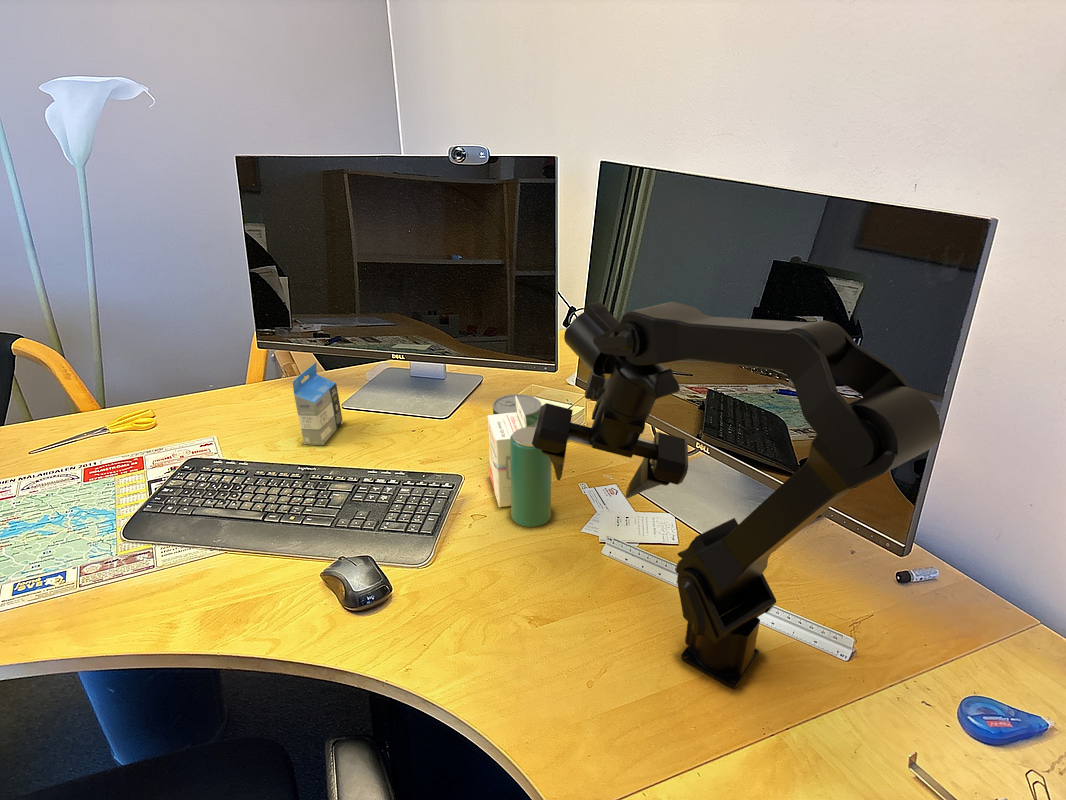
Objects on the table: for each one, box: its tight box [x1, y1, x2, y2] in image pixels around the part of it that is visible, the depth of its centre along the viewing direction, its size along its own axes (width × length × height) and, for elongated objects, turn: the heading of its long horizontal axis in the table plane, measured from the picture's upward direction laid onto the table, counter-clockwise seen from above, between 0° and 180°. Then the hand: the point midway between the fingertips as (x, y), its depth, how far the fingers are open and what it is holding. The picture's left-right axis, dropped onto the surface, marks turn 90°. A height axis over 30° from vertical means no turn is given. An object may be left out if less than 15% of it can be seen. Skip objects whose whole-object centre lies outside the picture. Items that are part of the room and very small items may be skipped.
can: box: [510, 427, 552, 528], centre depth 96 cm, size 6×6×13 cm
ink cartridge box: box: [487, 396, 527, 508], centre depth 102 cm, size 9×5×15 cm, turn 13°
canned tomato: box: [492, 393, 542, 427], centre depth 110 cm, size 8×8×11 cm
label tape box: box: [291, 361, 344, 446], centre depth 120 cm, size 9×4×12 cm, turn 171°
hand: (593, 486), depth 87 cm, fingers open, 9 cm apart
